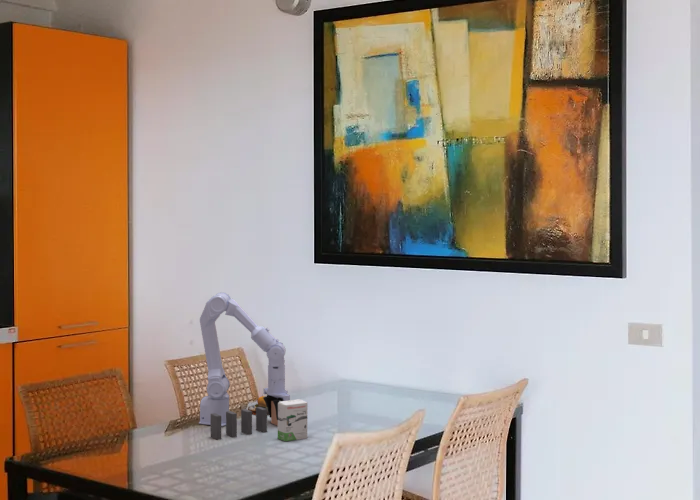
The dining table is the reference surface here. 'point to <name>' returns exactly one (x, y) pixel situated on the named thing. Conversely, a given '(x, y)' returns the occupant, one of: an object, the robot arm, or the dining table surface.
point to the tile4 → (231, 424)
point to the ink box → (292, 420)
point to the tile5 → (215, 426)
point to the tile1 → (273, 414)
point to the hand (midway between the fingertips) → (276, 418)
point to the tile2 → (261, 419)
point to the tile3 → (246, 421)
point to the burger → (259, 405)
